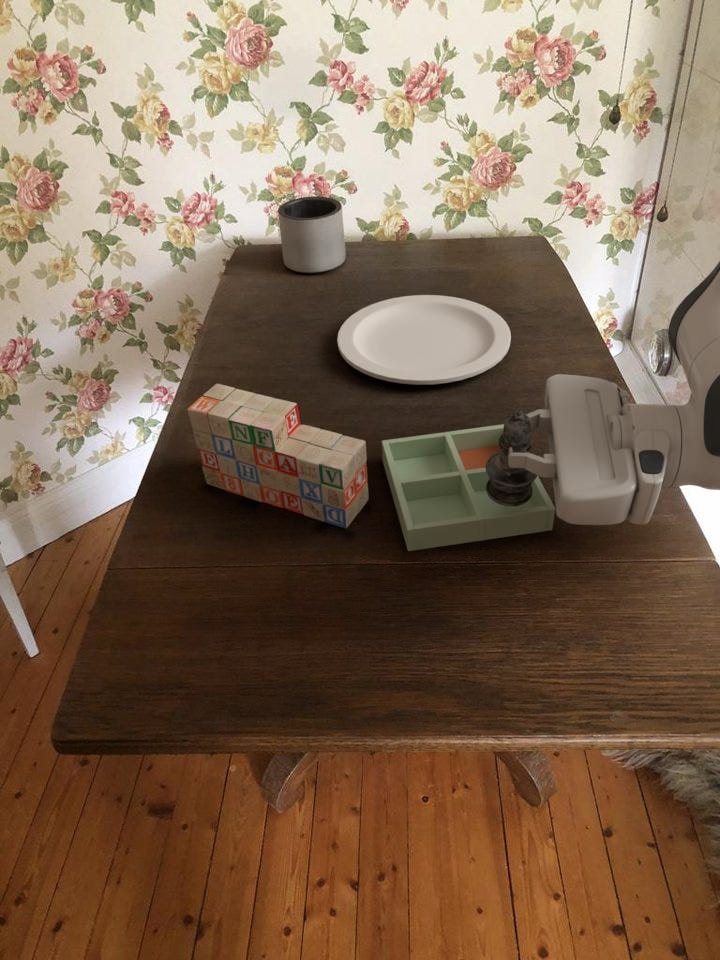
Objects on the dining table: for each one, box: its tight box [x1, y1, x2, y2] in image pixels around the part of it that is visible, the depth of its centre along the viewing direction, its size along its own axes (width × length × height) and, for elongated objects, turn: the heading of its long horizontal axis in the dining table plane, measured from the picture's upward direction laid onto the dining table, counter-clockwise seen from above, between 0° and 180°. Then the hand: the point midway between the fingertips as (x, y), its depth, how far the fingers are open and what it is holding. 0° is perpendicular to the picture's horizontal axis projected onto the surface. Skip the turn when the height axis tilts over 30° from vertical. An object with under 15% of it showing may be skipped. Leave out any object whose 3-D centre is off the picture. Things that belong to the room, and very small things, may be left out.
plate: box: [336, 294, 512, 386], centre depth 123 cm, size 28×28×2 cm
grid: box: [381, 423, 556, 552], centre depth 94 cm, size 17×17×3 cm
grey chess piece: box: [485, 409, 539, 507], centre depth 82 cm, size 6×6×12 cm
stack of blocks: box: [187, 383, 370, 529], centre depth 93 cm, size 21×6×12 cm, turn 62°
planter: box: [277, 195, 347, 275], centre depth 148 cm, size 13×12×11 cm
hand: (507, 441), depth 81 cm, fingers closed on grey chess piece, 3 cm apart
